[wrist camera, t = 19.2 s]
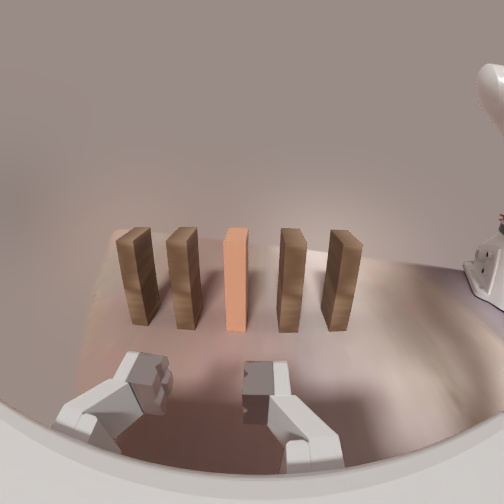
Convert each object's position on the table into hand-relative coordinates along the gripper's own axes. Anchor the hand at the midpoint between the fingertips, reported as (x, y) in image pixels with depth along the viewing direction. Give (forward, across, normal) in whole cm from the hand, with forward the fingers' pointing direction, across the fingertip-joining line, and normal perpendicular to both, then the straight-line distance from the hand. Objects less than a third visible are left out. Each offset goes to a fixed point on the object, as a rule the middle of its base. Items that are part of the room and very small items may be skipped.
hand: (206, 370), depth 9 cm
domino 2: (+18, +6, +11) cm, 22 cm away
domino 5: (+18, -11, +11) cm, 24 cm away
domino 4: (+18, -5, +11) cm, 22 cm away
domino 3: (+18, 0, +11) cm, 21 cm away
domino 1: (+18, +11, +11) cm, 24 cm away
